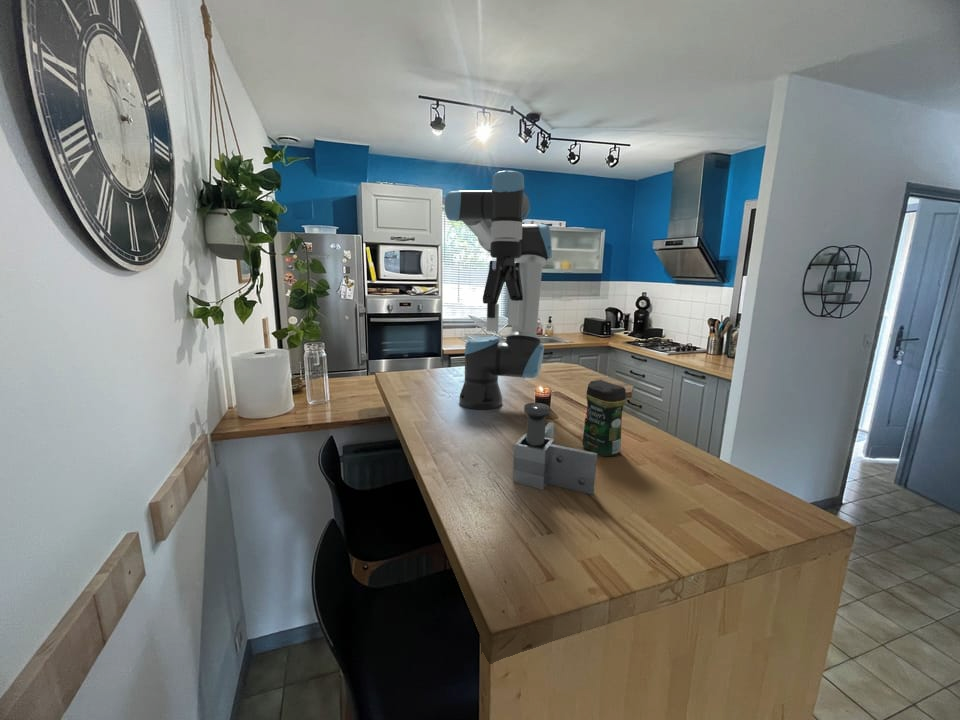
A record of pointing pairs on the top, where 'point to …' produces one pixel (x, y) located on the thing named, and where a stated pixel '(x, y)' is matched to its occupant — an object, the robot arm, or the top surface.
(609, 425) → the coffee jar
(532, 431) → the pin
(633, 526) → the top surface
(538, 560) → the top surface
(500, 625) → the top surface
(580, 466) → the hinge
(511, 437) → the top surface
